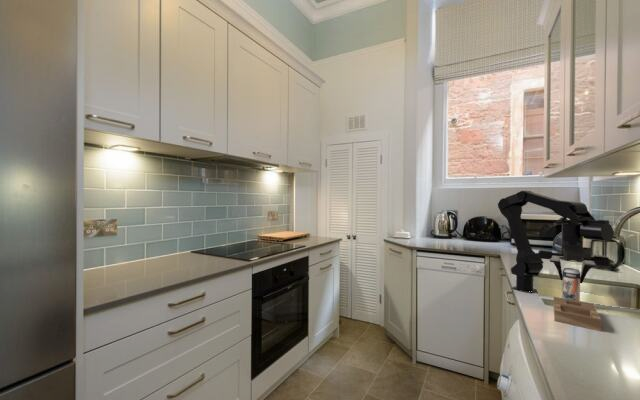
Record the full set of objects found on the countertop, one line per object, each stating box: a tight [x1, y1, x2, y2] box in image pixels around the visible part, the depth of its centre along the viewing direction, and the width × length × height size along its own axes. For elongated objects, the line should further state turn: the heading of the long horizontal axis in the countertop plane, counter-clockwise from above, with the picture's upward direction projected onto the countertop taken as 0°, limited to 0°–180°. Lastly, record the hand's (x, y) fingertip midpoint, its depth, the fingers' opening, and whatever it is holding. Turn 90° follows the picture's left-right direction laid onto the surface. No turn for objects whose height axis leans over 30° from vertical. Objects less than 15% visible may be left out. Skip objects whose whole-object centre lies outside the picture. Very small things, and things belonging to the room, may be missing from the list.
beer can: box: [561, 267, 581, 301], centre depth 100 cm, size 5×5×12 cm
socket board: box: [553, 296, 602, 332], centre depth 89 cm, size 18×10×3 cm, turn 141°
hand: (571, 281), depth 100 cm, fingers closed on beer can, 5 cm apart
